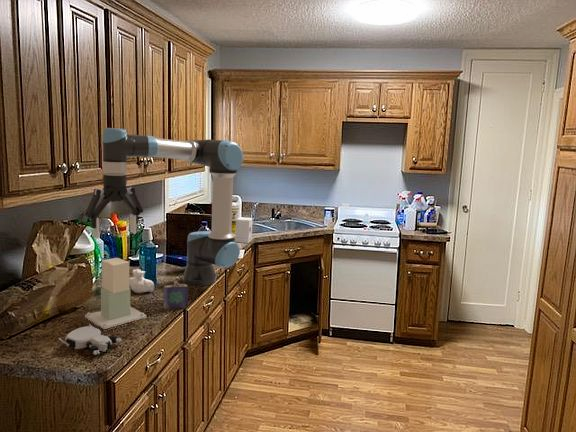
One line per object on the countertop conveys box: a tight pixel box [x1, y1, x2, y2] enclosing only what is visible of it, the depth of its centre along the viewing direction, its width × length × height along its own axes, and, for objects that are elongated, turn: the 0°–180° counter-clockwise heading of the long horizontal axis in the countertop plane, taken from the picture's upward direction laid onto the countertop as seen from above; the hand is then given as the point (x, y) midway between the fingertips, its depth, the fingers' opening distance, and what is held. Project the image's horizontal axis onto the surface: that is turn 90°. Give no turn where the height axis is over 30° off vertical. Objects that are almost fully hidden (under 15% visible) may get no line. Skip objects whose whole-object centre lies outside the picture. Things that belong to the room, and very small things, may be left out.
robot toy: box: [58, 323, 123, 356], centre depth 142 cm, size 12×4×15 cm
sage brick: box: [100, 287, 131, 320], centre depth 163 cm, size 8×6×10 cm
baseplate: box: [84, 306, 147, 329], centre depth 164 cm, size 16×14×2 cm
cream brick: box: [101, 257, 130, 293], centre depth 162 cm, size 6×8×10 cm
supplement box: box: [234, 216, 254, 244], centre depth 292 cm, size 9×9×15 cm
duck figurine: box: [129, 268, 155, 294], centre depth 191 cm, size 12×8×11 cm
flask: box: [162, 280, 189, 310], centre depth 177 cm, size 9×3×11 cm, turn 109°
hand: (115, 235), depth 159 cm, fingers open, 13 cm apart
